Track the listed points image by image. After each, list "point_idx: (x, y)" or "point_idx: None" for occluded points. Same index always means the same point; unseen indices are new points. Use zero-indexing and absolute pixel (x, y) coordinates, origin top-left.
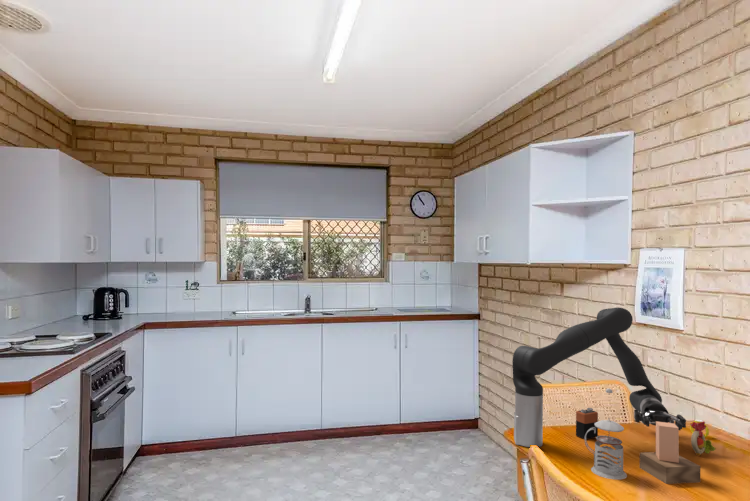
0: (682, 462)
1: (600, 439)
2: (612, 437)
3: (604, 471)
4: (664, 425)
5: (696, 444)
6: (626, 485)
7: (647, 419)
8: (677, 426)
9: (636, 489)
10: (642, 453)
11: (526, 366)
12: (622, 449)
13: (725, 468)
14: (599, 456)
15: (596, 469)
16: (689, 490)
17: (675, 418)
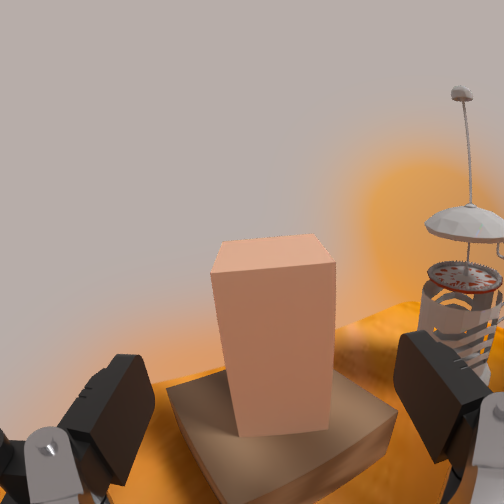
0: (223, 396)
1: (485, 275)
2: (473, 288)
3: (445, 336)
4: (286, 240)
5: None
6: (386, 338)
7: (418, 332)
8: (143, 390)
9: (363, 333)
10: (385, 409)
11: None
12: (422, 292)
13: None
14: (489, 351)
15: (467, 345)
16: None
17: (47, 472)
